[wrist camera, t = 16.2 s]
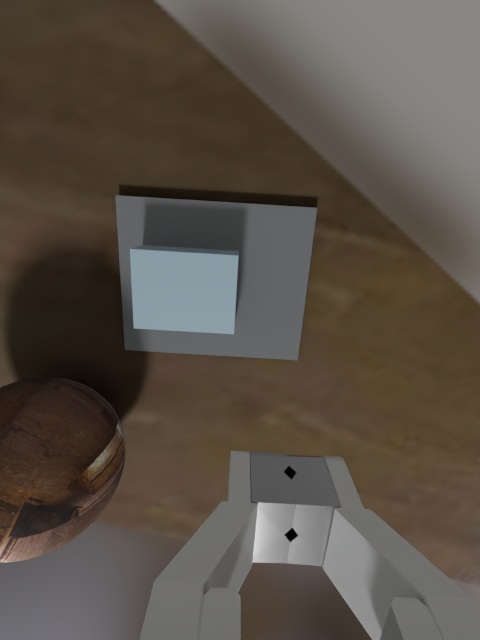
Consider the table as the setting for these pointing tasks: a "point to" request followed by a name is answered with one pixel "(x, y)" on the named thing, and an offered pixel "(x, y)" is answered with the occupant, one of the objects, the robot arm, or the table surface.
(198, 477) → the table surface
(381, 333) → the table surface
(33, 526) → the wooden sphere
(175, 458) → the table surface
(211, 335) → the mat
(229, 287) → the block
